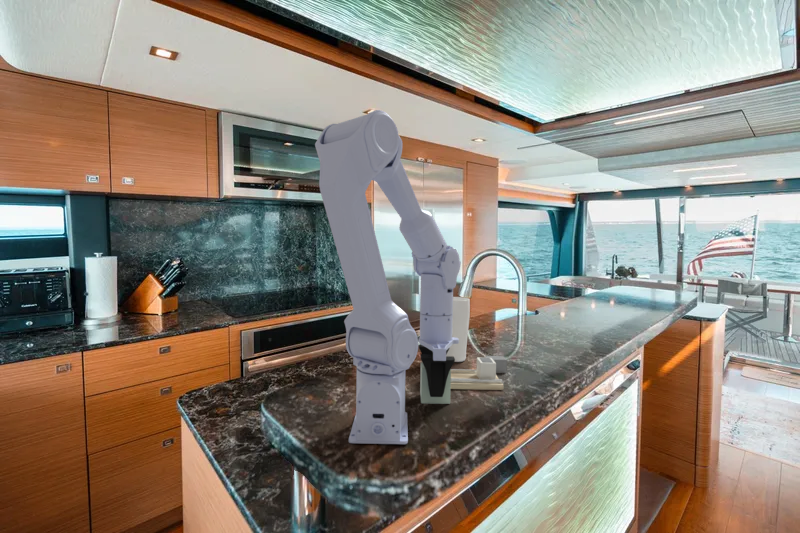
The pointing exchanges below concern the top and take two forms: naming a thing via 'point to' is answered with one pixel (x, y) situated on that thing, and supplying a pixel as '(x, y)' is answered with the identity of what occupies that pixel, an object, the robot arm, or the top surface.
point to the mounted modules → (486, 368)
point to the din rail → (463, 380)
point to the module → (426, 394)
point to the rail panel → (474, 385)
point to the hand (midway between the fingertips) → (434, 389)
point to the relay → (500, 363)
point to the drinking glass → (460, 328)
